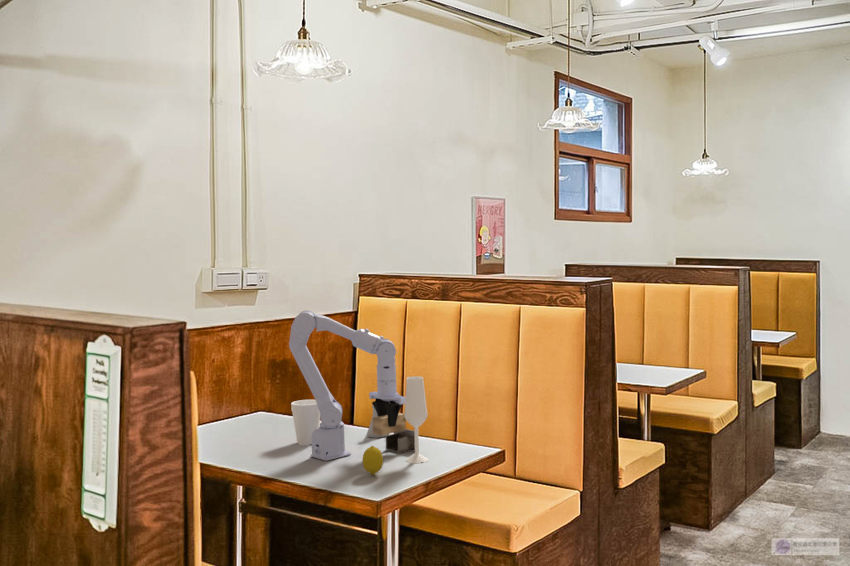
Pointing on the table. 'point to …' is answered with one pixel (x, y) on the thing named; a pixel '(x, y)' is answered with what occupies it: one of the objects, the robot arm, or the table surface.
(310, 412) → the foam cup
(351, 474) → the table surface
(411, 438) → the bracket
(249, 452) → the table surface
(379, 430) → the wooden block
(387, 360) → the robot arm
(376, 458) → the lemon
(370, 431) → the flask
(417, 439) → the champagne flute
